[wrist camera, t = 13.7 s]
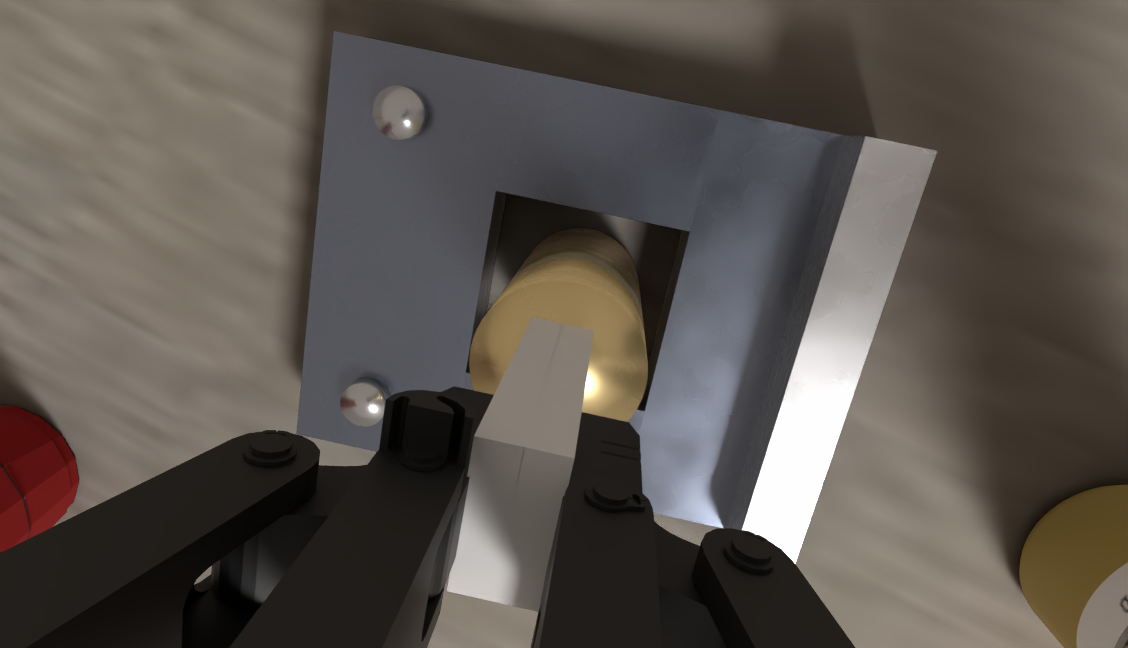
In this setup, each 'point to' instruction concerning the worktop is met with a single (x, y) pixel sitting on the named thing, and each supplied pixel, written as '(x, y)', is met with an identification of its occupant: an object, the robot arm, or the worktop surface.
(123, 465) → the worktop surface
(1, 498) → the plastic cup
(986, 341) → the worktop surface
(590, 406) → the brass cylinder
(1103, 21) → the worktop surface
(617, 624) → the robot arm
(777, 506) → the jig
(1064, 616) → the paper tube
